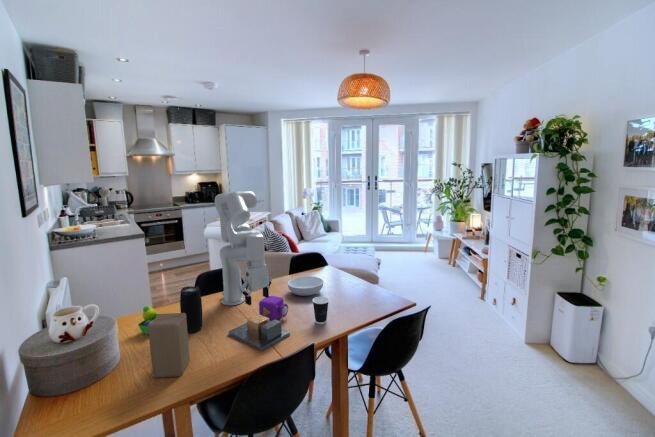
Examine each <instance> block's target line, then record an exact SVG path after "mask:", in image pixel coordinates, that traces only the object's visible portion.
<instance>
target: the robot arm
mask: <svg viewBox="0 0 655 437" xmlns="http://www.w3.org/2000/svg"><path fill="white" fill-rule="evenodd" d="M257 200H258V199H257V196H256V194H255V192H253V191H250V190H245V191H244V190H241V191H239V190H238V191H232V192H225V193H219V194H217V195H215V197H214V205H215V209H216V212H217V214H218V217H219V224H220V225H219V226H220V235H221V240H222V242H224V243H226V244H228V243H229V244H228V245H224V246H222V247H221V248H220V250H219V258H220V263H221V267H222V280H223V281H222V284H223V291H222V292H221V295H222V296H223V298H222V299H221V301H220V302H221V304H222V305H224V306H236V305H240V304H243V303H244V302H245V304H246V305H248V306H251V305H252V296H251V294H252V292H257V291H259V290H261V289H262V296H263V298H265V297H266V298H268V297H269V295H270V291H269V290H270V286H271V284H272V282H273V281H272V280H273V278H274V277H273V276H270V274H269V269H268V268H269V267H268V265H267V264H266V258H265V257H266V256H265V248H266V247H265V236H264V235H263V234H262V232H261V230H258V229H252V228H251V225H249V224H248V223H247V222H248V221H249V220H250V217H251V212H250V210H249V209H254V208H255V207H256V206H257V203H258V201H257ZM239 262H245V263H244V265H245V274H244V282H243V283H242V270H241V268H240V266H239V265H238V264H237V263H239Z"/></svg>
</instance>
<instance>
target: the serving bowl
mask: <svg viewBox="0 0 655 437" xmlns="http://www.w3.org/2000/svg"><path fill="white" fill-rule="evenodd" d="M324 283H325V282H324V280H323V279H322V278H321V277H319V276H312V275H310V276H309V275H304V276H302V275H301V276H297V277H294V278H291V279H290V280H288V281H287V286H288V290H289V291H290V292H291V293H292V294H293V295H297V296H301V297H302V296H303V297H305V296H306V297H307V296H314V295H316V294H318V293H320V291H321V290H322V289H323V287H324Z"/></svg>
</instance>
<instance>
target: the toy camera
mask: <svg viewBox="0 0 655 437" xmlns="http://www.w3.org/2000/svg"><path fill="white" fill-rule="evenodd" d="M258 309H259V310H258V314H260V315H262V316H265V317H267V318H269V322H270V321H272V320H274V319H275V320H279V319H280V318H281V317H282V318H285V317H286V316H287V314H288V311H289V305H288V303H284V298H283V297H281V296H277V295H272V294H269V297H268V298H266V297H263V298H262V299H261V300H260V301H259V302H258Z"/></svg>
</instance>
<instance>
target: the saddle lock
mask: <svg viewBox="0 0 655 437" xmlns="http://www.w3.org/2000/svg"><path fill="white" fill-rule="evenodd" d="M246 320H247V321H246V323H247V322H248V332H249V333H251V334H253V335H255V336H257V337H260V325H262V324H266V323H268V322H270V320H269V318H267V317H265V316H262V315H260V314H259V313H258V314H256V315H253V316H251V317H249V318H247V319H246Z"/></svg>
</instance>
